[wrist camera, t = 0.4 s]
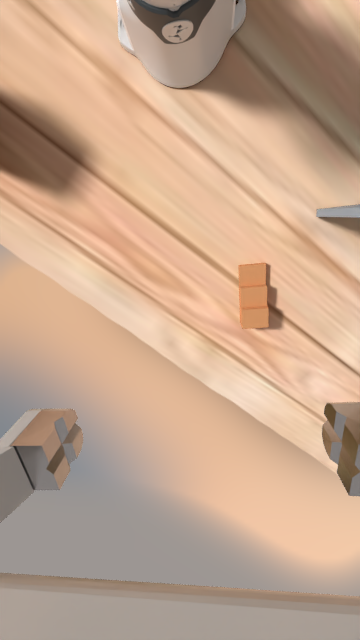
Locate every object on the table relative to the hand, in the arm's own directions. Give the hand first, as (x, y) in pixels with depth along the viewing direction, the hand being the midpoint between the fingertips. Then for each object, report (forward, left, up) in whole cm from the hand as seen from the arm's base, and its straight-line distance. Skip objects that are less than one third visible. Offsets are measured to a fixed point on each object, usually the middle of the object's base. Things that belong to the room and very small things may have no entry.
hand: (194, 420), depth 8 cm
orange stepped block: (+10, +9, -45) cm, 47 cm away
